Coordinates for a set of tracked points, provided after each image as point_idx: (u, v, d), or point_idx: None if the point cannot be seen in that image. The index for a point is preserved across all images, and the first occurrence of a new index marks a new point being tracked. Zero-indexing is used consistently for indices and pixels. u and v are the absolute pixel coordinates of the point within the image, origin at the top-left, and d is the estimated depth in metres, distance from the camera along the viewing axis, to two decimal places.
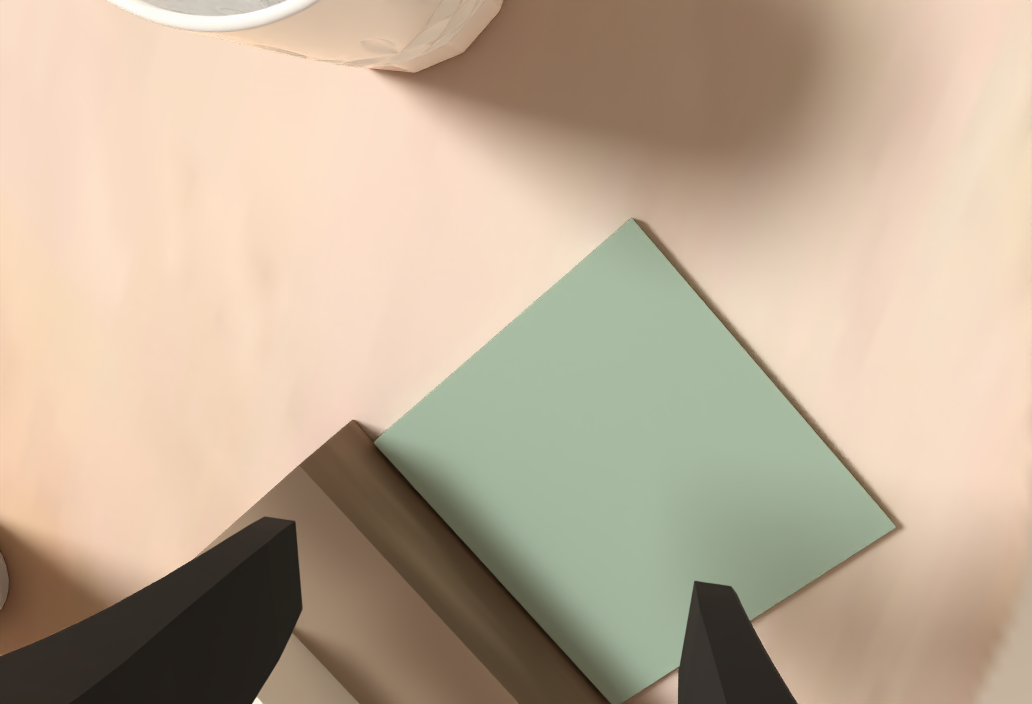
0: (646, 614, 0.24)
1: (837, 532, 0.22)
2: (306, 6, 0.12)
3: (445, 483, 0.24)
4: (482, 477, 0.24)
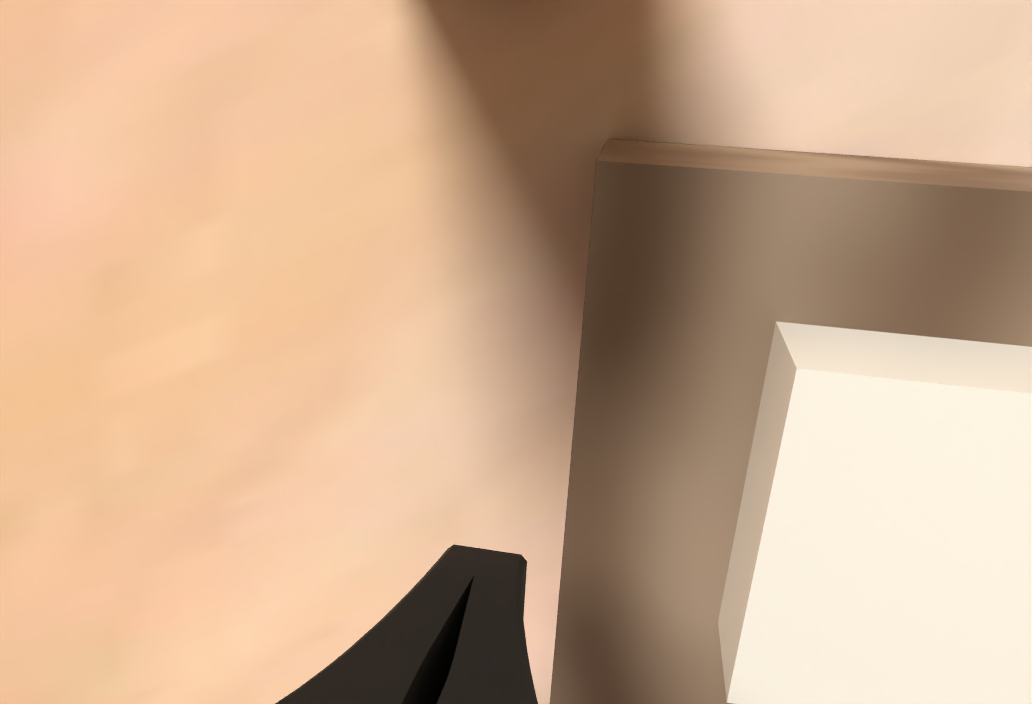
0: None
1: None
2: None
3: None
4: None
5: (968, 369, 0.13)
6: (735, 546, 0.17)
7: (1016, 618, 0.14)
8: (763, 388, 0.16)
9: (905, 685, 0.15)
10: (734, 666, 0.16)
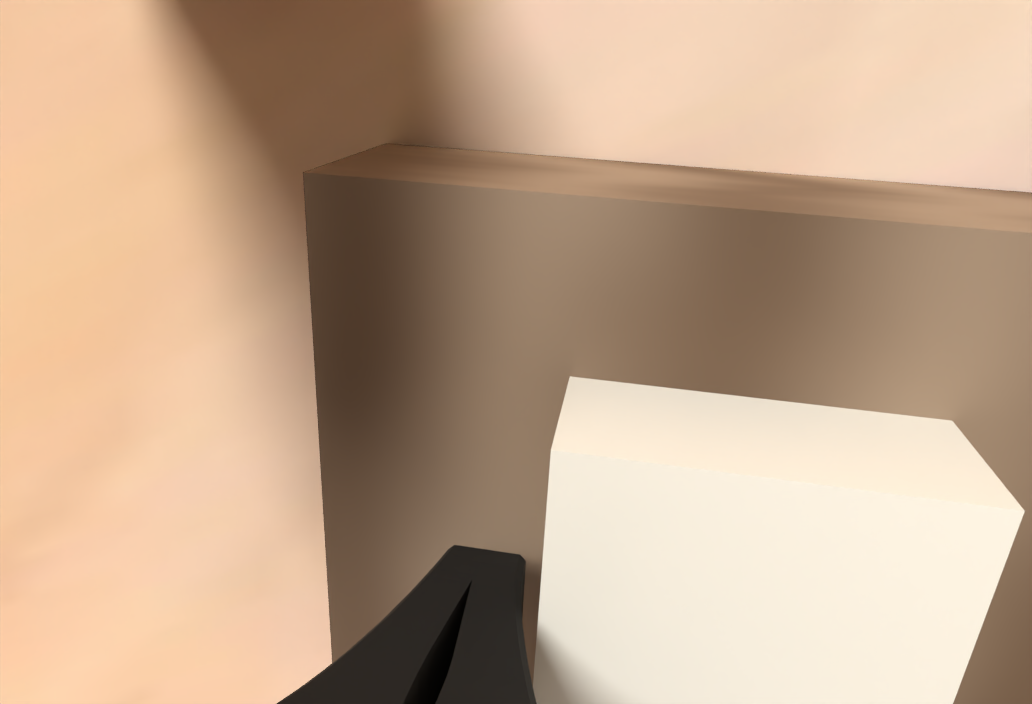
0: None
1: None
2: None
3: None
4: None
5: (778, 449, 0.10)
6: None
7: None
8: None
9: None
10: None
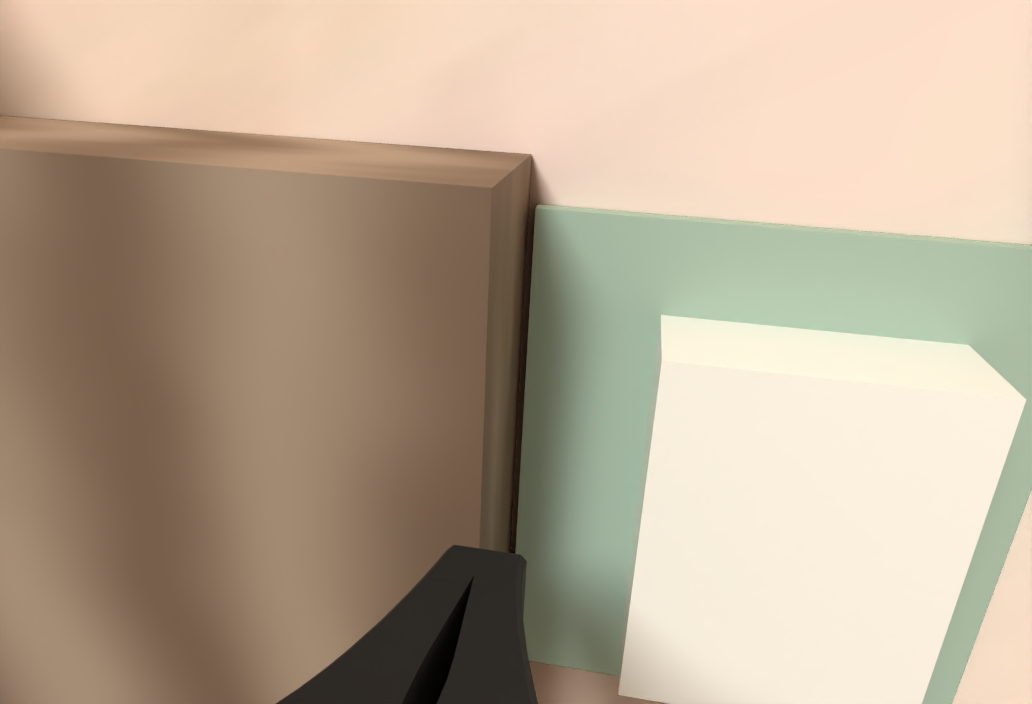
0: None
1: None
2: None
3: (571, 327, 0.16)
4: (619, 359, 0.16)
5: (810, 343, 0.14)
6: None
7: None
8: (998, 478, 0.13)
9: None
10: None
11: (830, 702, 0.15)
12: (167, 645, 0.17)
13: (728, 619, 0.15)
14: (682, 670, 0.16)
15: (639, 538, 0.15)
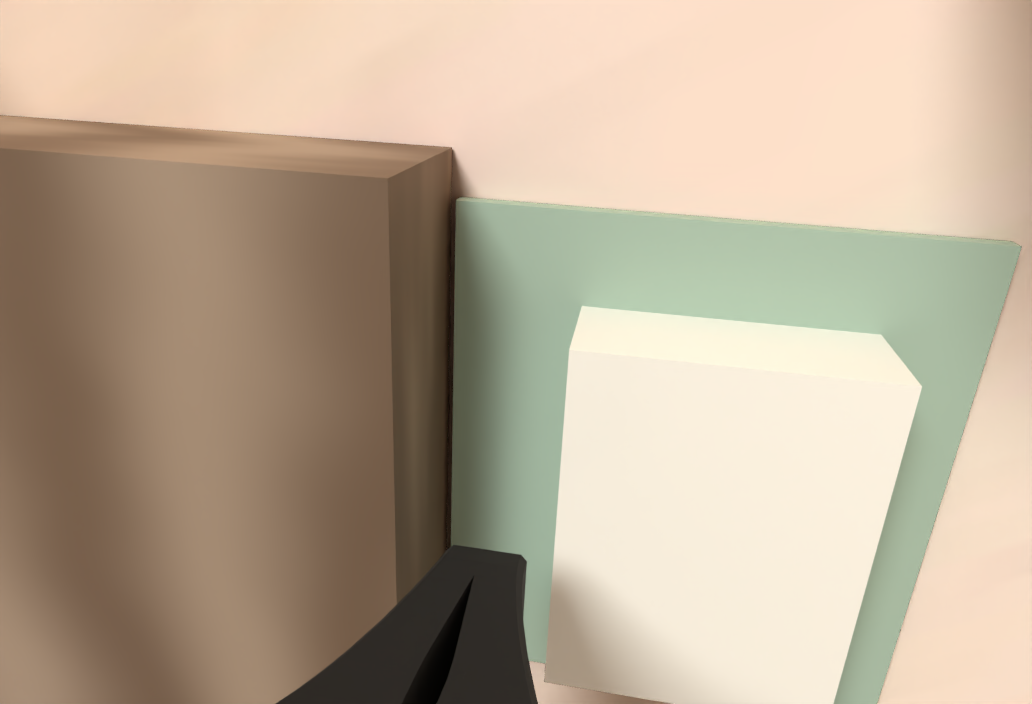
0: None
1: None
2: None
3: (495, 319, 0.16)
4: (543, 350, 0.16)
5: (723, 333, 0.14)
6: None
7: None
8: (899, 464, 0.13)
9: None
10: None
11: (749, 688, 0.16)
12: (100, 633, 0.17)
13: (645, 606, 0.15)
14: (604, 656, 0.16)
15: (556, 526, 0.15)
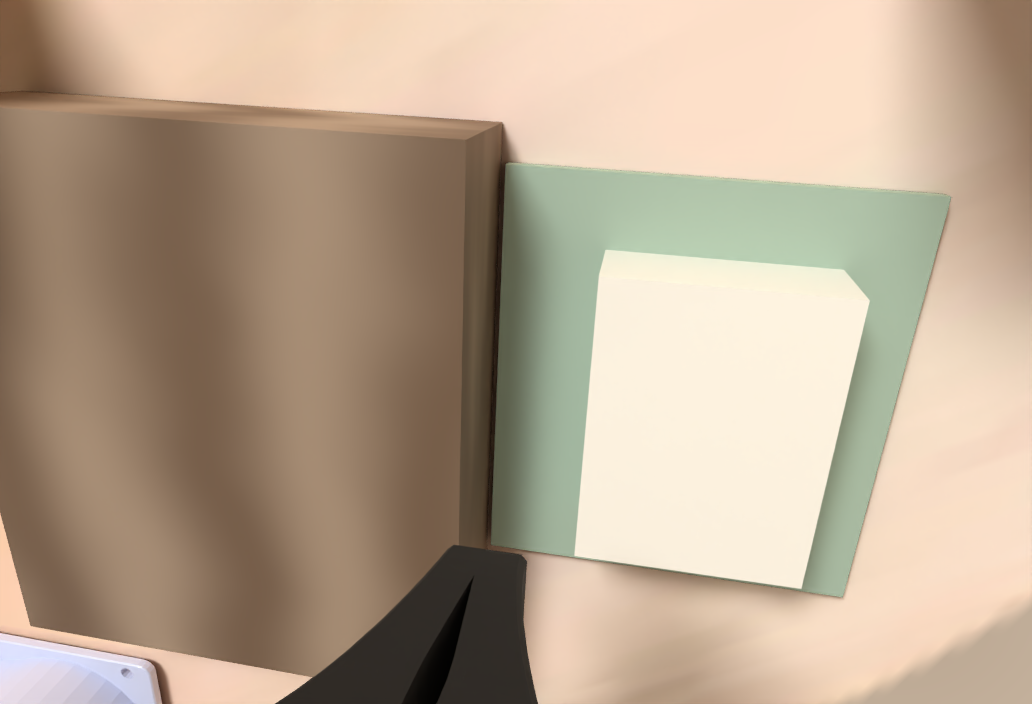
0: None
1: None
2: None
3: (536, 261, 0.20)
4: (574, 287, 0.20)
5: (718, 267, 0.18)
6: None
7: None
8: (854, 363, 0.17)
9: None
10: None
11: (739, 554, 0.19)
12: (213, 519, 0.21)
13: (657, 487, 0.19)
14: (623, 532, 0.20)
15: (586, 422, 0.19)
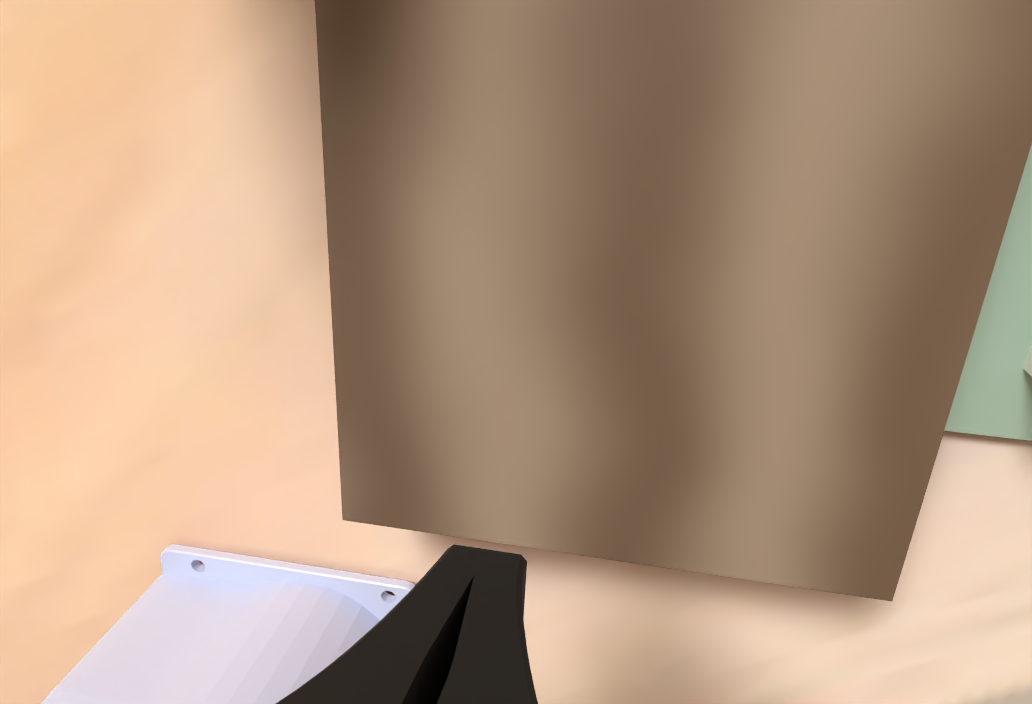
0: None
1: None
2: None
3: None
4: None
5: None
6: None
7: None
8: None
9: None
10: None
11: None
12: (623, 369, 0.17)
13: None
14: None
15: None
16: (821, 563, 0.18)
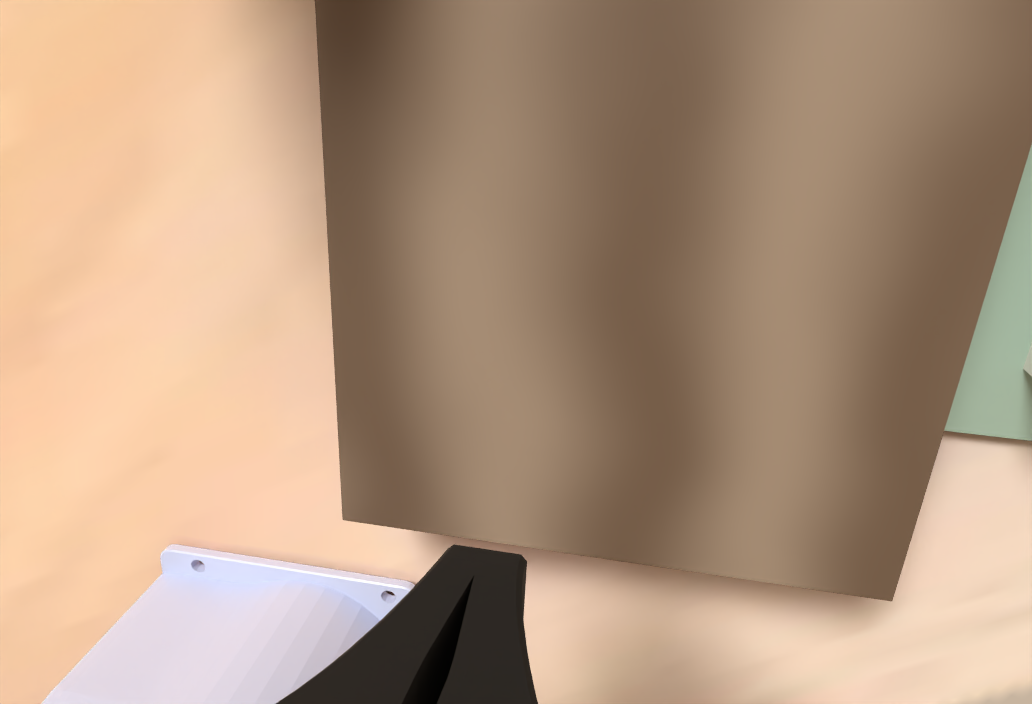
0: None
1: None
2: None
3: None
4: None
5: None
6: None
7: None
8: None
9: None
10: None
11: None
12: (623, 369, 0.17)
13: None
14: None
15: None
16: (821, 563, 0.18)
